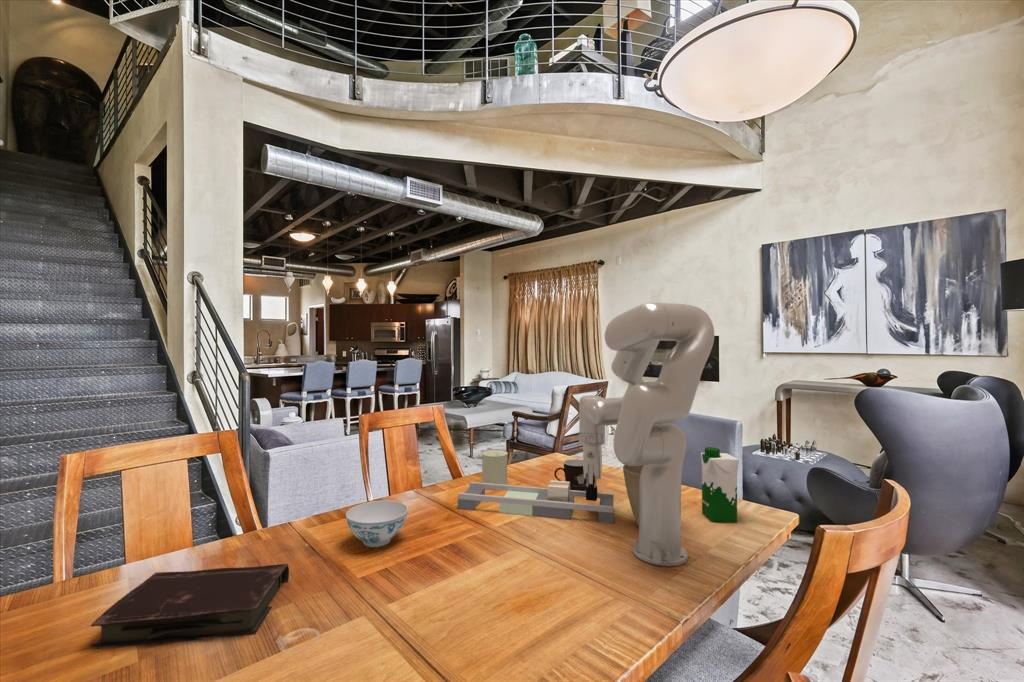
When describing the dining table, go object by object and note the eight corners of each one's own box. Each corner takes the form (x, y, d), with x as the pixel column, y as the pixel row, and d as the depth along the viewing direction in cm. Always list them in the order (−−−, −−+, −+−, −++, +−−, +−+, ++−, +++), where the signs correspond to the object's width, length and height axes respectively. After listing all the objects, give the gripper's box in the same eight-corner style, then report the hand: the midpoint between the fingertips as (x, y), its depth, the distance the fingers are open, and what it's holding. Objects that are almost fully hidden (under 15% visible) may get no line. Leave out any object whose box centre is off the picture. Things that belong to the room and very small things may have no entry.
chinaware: (332, 546, 111) (332, 515, 111) (376, 524, 124) (377, 496, 124) (377, 560, 104) (378, 527, 104) (419, 536, 117) (420, 506, 117)
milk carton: (697, 511, 135) (698, 445, 135) (728, 512, 135) (728, 445, 135) (709, 523, 127) (710, 452, 127) (742, 524, 126) (742, 452, 126)
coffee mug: (588, 488, 156) (588, 459, 156) (589, 496, 148) (589, 466, 148) (554, 487, 158) (554, 458, 158) (554, 495, 149) (554, 465, 149)
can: (488, 491, 153) (488, 456, 153) (477, 483, 161) (477, 450, 161) (512, 487, 157) (512, 453, 157) (500, 480, 165) (500, 447, 165)
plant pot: (671, 516, 131) (671, 462, 131) (685, 538, 117) (685, 477, 117) (619, 514, 133) (619, 460, 133) (626, 535, 118) (627, 475, 118)
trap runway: (613, 523, 126) (613, 507, 126) (457, 508, 137) (457, 493, 137) (613, 508, 138) (613, 493, 138) (470, 495, 148) (470, 481, 148)
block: (567, 504, 132) (567, 487, 132) (547, 503, 133) (547, 486, 133) (569, 498, 138) (570, 481, 138) (550, 496, 139) (550, 480, 139)
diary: (157, 594, 91) (157, 569, 91) (288, 584, 95) (289, 560, 95) (86, 655, 73) (86, 624, 73) (253, 640, 77) (253, 610, 77)
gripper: (604, 444, 125) (603, 510, 125) (605, 433, 140) (605, 492, 140) (576, 442, 127) (576, 507, 127) (581, 432, 142) (580, 490, 142)
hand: (591, 499), depth 133 cm, fingers closed
